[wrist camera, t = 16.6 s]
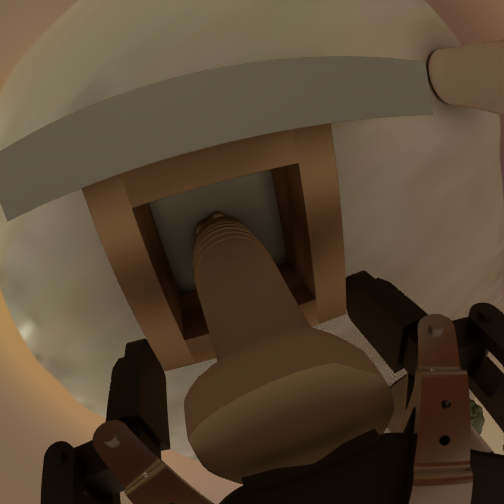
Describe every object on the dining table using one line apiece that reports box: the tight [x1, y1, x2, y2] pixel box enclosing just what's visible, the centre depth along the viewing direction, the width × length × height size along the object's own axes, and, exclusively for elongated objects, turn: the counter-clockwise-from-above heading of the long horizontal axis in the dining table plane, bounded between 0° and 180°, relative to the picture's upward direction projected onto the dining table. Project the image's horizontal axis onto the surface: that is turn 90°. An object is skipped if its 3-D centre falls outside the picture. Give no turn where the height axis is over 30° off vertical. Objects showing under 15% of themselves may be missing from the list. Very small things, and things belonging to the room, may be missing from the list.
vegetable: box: [470, 400, 485, 435], centre depth 46 cm, size 12×13×15 cm
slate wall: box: [0, 56, 433, 222], centre depth 12 cm, size 2×17×9 cm, turn 102°
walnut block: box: [82, 123, 346, 371], centre depth 17 cm, size 12×12×5 cm
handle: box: [184, 212, 394, 484], centre depth 13 cm, size 5×6×15 cm
